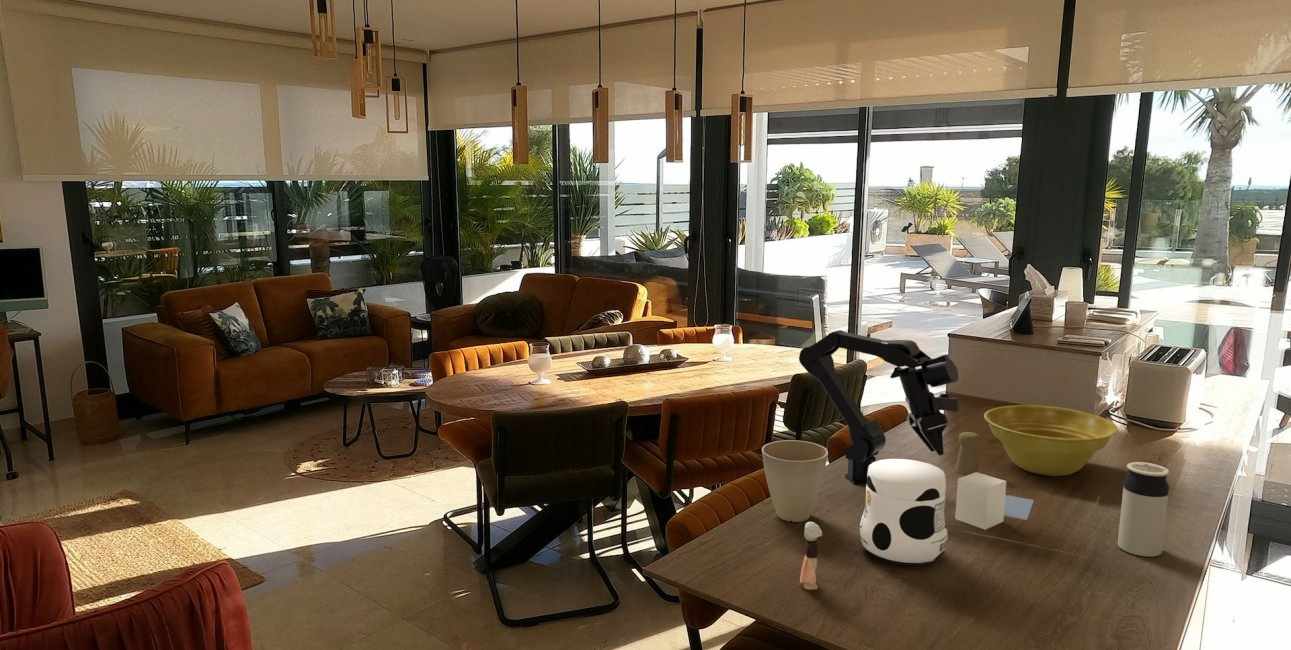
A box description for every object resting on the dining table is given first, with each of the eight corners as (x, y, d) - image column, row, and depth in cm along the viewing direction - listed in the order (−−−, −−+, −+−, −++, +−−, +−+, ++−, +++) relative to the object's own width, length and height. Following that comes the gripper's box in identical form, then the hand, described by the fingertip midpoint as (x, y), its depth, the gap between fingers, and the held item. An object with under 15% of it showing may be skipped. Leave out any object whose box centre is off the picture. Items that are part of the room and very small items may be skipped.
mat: (962, 509, 193) (962, 507, 193) (972, 490, 205) (972, 489, 205) (1026, 521, 186) (1026, 520, 186) (1033, 501, 198) (1034, 500, 198)
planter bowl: (980, 479, 213) (984, 429, 210) (980, 443, 242) (983, 399, 240) (1121, 496, 201) (1127, 444, 199) (1103, 457, 230) (1108, 410, 228)
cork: (981, 477, 214) (983, 437, 212) (956, 475, 215) (959, 435, 213) (976, 469, 220) (979, 430, 218) (953, 468, 221) (955, 429, 219)
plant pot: (785, 498, 200) (787, 436, 197) (837, 515, 189) (840, 450, 187) (747, 515, 189) (748, 449, 187) (800, 535, 179) (802, 465, 176)
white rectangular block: (955, 520, 187) (957, 478, 185) (973, 512, 191) (976, 472, 189) (985, 531, 181) (988, 488, 179) (1003, 523, 185) (1006, 481, 183)
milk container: (850, 535, 179) (854, 456, 176) (930, 536, 178) (935, 457, 175) (869, 572, 162) (874, 485, 159) (958, 573, 161) (964, 486, 158)
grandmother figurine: (794, 576, 160) (796, 515, 158) (813, 575, 160) (815, 514, 158) (805, 595, 152) (807, 531, 150) (825, 595, 153) (828, 531, 151)
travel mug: (1161, 561, 166) (1171, 477, 163) (1116, 552, 170) (1125, 469, 167) (1161, 546, 173) (1170, 465, 170) (1118, 538, 177) (1126, 459, 174)
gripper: (958, 382, 189) (980, 447, 188) (941, 380, 208) (961, 440, 206) (911, 396, 190) (932, 461, 189) (898, 393, 209) (917, 452, 207)
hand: (937, 453), depth 198 cm, fingers open, 9 cm apart
